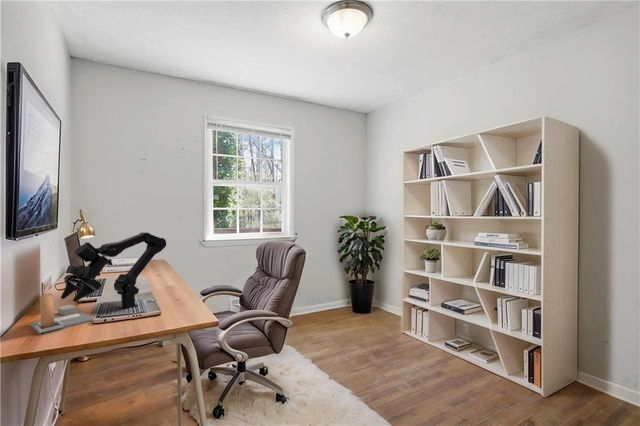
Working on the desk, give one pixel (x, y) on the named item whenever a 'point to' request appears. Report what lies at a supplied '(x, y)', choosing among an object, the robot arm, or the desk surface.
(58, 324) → the board
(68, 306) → the cover
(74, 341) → the desk surface
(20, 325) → the desk surface
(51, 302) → the pin
